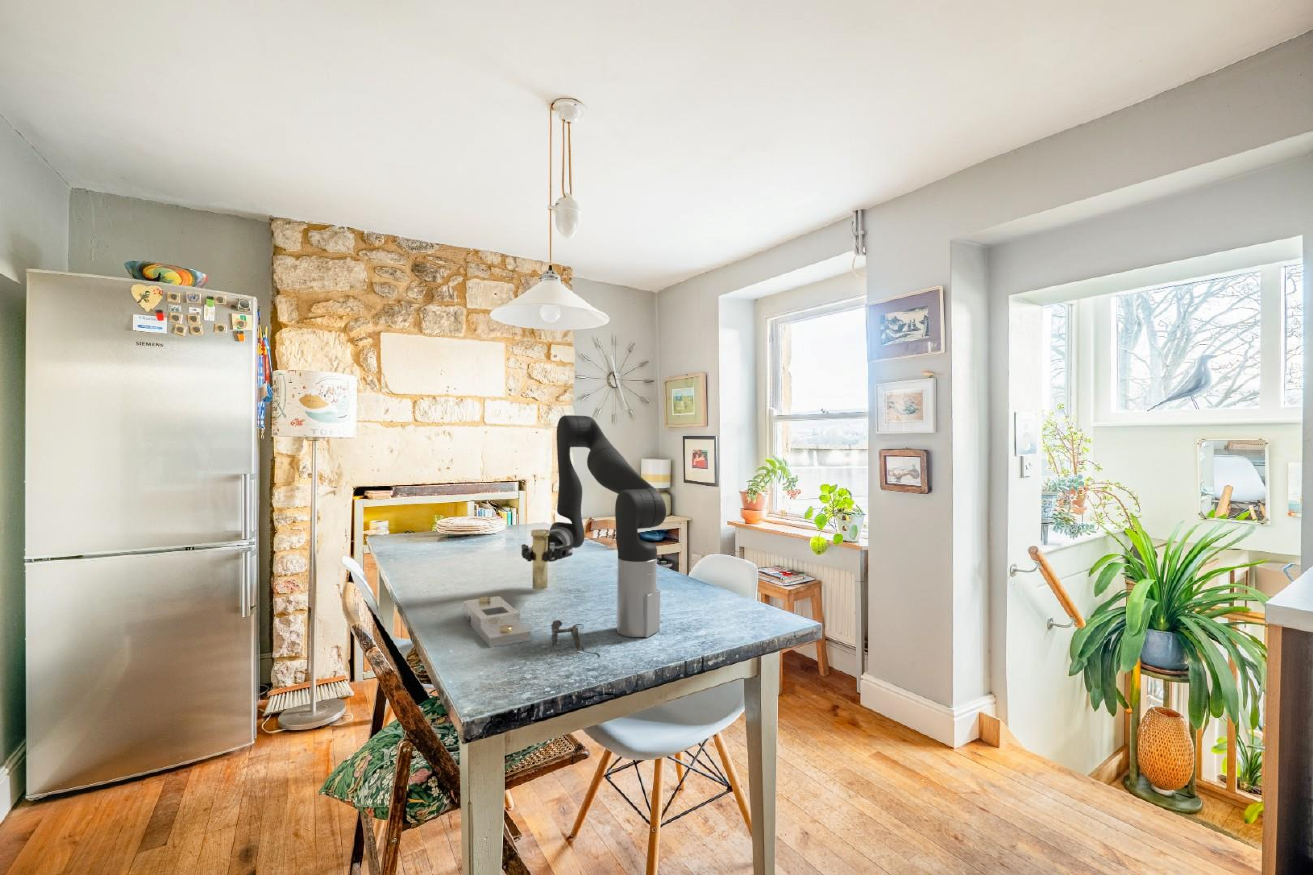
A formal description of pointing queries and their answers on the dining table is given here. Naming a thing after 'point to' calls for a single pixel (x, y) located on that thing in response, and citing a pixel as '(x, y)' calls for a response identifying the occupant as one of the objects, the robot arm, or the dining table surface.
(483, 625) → the gray block
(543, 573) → the pin
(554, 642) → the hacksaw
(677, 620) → the dining table surface
